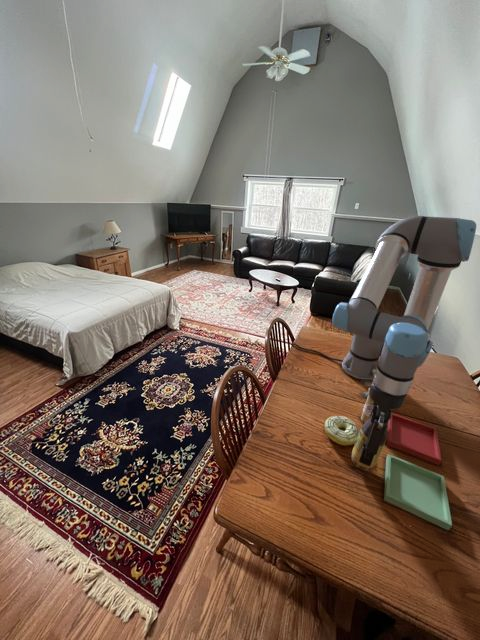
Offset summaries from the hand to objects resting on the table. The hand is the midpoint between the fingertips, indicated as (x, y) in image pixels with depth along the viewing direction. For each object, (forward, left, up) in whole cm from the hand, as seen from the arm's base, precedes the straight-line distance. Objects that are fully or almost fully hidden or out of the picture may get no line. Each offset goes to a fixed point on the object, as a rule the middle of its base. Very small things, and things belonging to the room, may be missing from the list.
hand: (366, 452), depth 73 cm
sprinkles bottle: (0, +20, -6) cm, 20 cm away
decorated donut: (-7, +9, -6) cm, 13 cm away
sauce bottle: (0, 0, -4) cm, 4 cm away
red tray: (+13, +19, -6) cm, 23 cm away
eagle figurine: (0, +36, -6) cm, 36 cm away
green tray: (+13, 0, -6) cm, 14 cm away
